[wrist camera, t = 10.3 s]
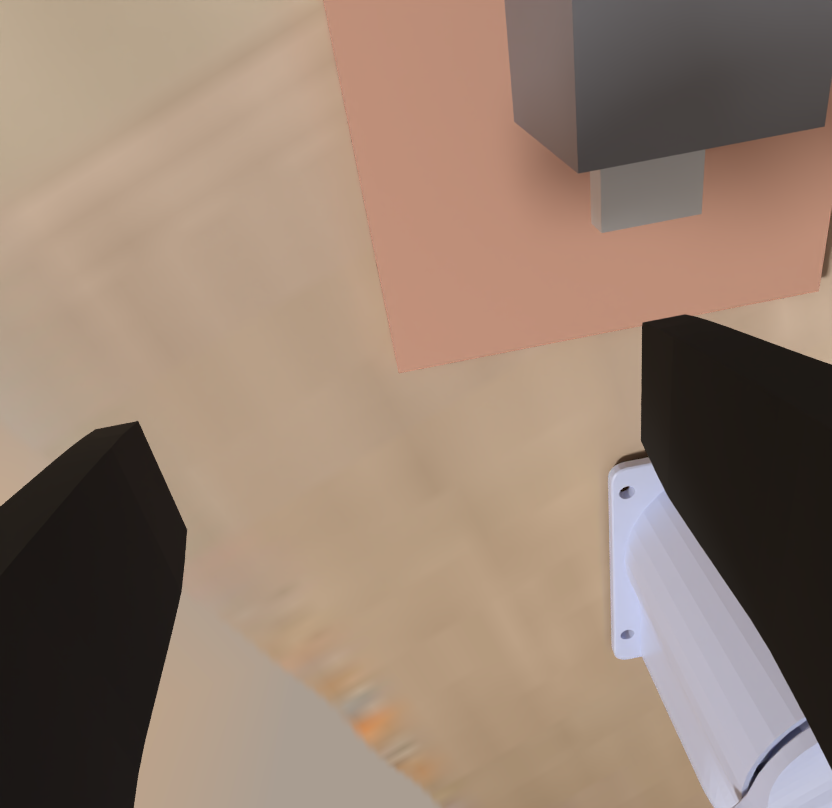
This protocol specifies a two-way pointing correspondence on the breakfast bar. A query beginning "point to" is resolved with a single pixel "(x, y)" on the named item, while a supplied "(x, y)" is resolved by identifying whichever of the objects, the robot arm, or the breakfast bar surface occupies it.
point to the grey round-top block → (663, 89)
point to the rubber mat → (541, 201)
